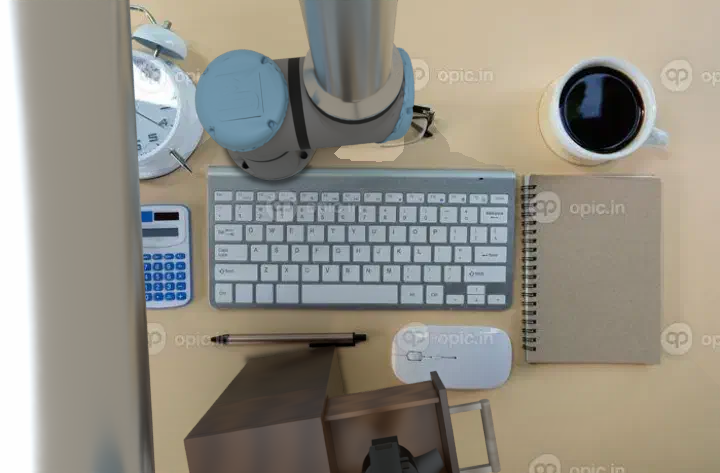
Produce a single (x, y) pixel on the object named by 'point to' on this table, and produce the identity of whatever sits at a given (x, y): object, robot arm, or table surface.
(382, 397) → the drawer
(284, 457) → the slanted brown box
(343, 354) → the table surface
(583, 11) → the table surface
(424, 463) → the dark grey rounded piece
